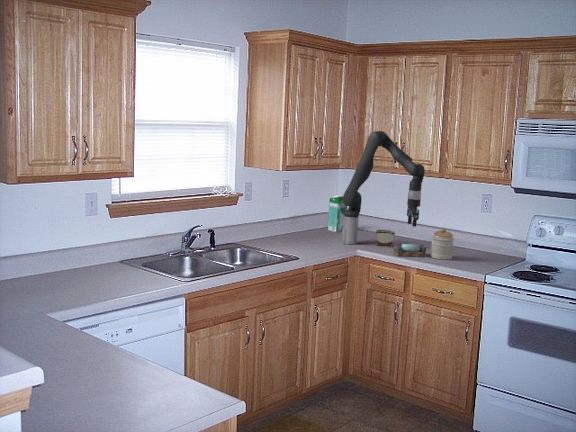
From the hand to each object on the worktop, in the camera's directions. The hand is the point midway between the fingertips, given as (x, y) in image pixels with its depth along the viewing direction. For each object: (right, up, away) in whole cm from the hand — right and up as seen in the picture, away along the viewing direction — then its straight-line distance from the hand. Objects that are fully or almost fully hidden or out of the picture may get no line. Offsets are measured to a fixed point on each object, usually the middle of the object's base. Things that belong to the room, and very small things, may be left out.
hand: (411, 225), depth 395 cm
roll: (0, -14, +2) cm, 14 cm away
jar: (+18, -19, +1) cm, 26 cm away
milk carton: (-39, -5, +72) cm, 82 cm away
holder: (-1, -18, +3) cm, 18 cm away
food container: (-13, -14, +27) cm, 33 cm away
